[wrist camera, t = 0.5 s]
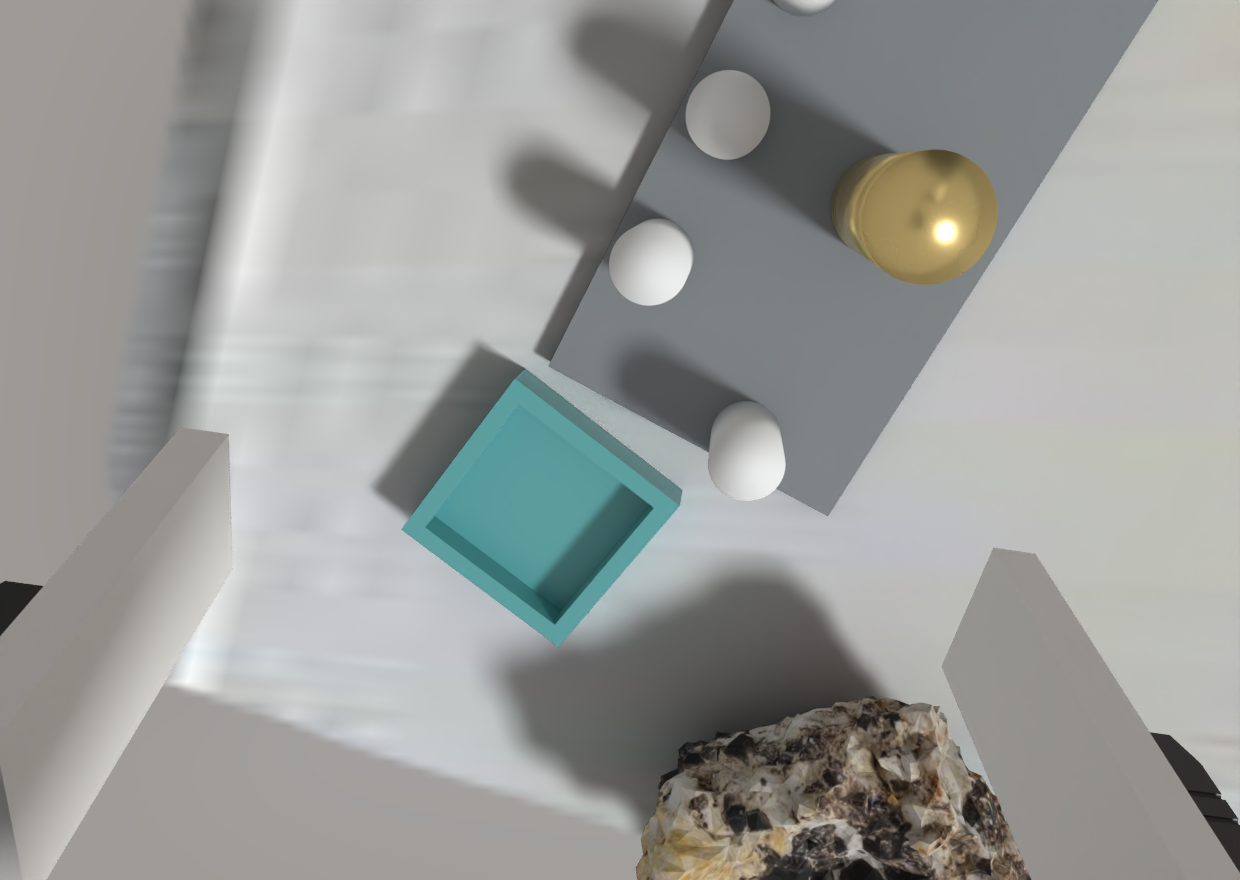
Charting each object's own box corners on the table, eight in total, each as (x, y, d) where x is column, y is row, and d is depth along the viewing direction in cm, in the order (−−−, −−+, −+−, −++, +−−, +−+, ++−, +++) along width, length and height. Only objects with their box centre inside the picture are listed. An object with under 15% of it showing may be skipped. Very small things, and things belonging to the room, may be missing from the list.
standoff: (876, 132, 38) (924, 120, 28) (953, 196, 38) (1026, 206, 29) (809, 215, 39) (834, 230, 29) (885, 276, 39) (933, 310, 30)
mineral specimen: (1003, 919, 48) (1070, 1106, 38) (648, 894, 50) (628, 1066, 40) (1035, 637, 44) (1119, 768, 34) (645, 622, 46) (622, 742, 36)
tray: (525, 368, 43) (514, 378, 41) (682, 490, 44) (679, 505, 42) (416, 513, 46) (401, 529, 44) (566, 626, 46) (558, 647, 44)
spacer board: (847, -221, 35) (866, -286, 30) (1175, -37, 36) (1247, -71, 31) (551, 362, 43) (526, 388, 38) (826, 509, 43) (838, 555, 38)
